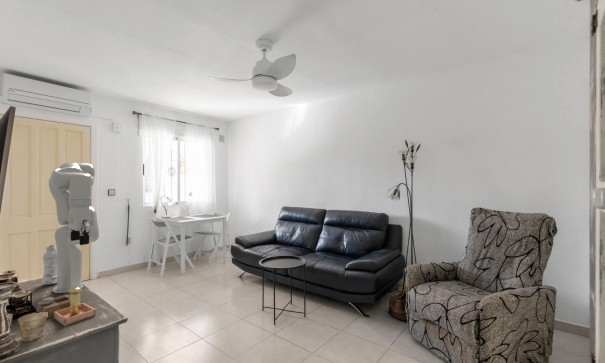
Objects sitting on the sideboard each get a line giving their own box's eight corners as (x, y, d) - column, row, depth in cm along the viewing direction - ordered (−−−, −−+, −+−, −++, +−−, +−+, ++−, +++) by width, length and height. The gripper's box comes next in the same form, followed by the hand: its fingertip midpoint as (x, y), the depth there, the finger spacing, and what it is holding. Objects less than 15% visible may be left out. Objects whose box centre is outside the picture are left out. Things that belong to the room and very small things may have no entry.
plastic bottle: (49, 281, 150) (49, 244, 150) (62, 281, 150) (62, 244, 150) (38, 286, 143) (38, 247, 143) (52, 286, 144) (53, 247, 144)
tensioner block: (37, 312, 117) (37, 298, 117) (67, 303, 125) (67, 290, 125) (45, 318, 112) (45, 304, 111) (76, 309, 120) (76, 295, 120)
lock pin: (66, 316, 113) (66, 288, 113) (78, 312, 116) (79, 285, 116) (70, 319, 111) (71, 291, 110) (83, 314, 114) (83, 287, 114)
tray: (53, 318, 112) (53, 311, 112) (83, 308, 121) (83, 302, 121) (64, 326, 106) (64, 319, 106) (95, 315, 115) (95, 309, 115)
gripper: (61, 201, 122) (61, 240, 122) (77, 205, 112) (77, 248, 113) (82, 200, 128) (82, 237, 129) (99, 204, 118) (98, 244, 119)
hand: (79, 242), depth 121 cm, fingers open, 9 cm apart
